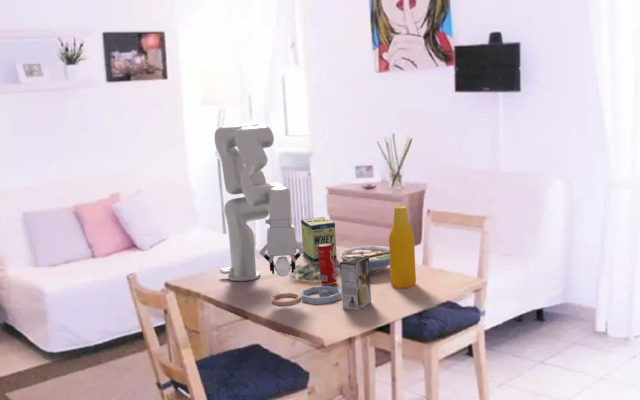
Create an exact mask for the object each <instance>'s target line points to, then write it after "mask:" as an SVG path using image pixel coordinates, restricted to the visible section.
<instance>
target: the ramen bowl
mask: <svg viewBox="0 0 640 400" xmlns="http://www.w3.org/2000/svg"><path fill="white" fill-rule="evenodd" d="M339 256H340V258H341V260H342V261H344V260H346V259H348V258H351V257H353V256H357V257H369V270H370V274H374V273H378V272H379V271H381V270H384V269H386V268H387V267H390V252H389V247H388V246H384V245H380V246H379V245H365V246H364V245H363V246H356V247H351V248H347V249H343V250H342V251H341V252H339Z"/></svg>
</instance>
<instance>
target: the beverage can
mask: <svg viewBox="0 0 640 400" xmlns="http://www.w3.org/2000/svg"><path fill="white" fill-rule="evenodd" d="M318 258H319V261H318V265H319V273H320V280H321V281H320V283H321V284H322V285H323V286H330V285H334V284H336V283H337V273H336V266H335V265H336V264H335V259H334V254H333V247H332V244H331V243H323V244H319V245H318Z"/></svg>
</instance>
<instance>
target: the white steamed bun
mask: <svg viewBox="0 0 640 400" xmlns="http://www.w3.org/2000/svg"><path fill="white" fill-rule="evenodd" d="M291 270H292V269H291V261H289V260H288V257H286V256H277V259H276V262H274V271H275V272H276V275H278V276H279V277H288V275H289V273H290V271H291Z"/></svg>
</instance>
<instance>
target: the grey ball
mask: <svg viewBox="0 0 640 400" xmlns="http://www.w3.org/2000/svg"><path fill="white" fill-rule="evenodd" d="M318 293H319V294H318V295H319V296H318V297H329V296H330V292H328V291H327V290H322V291H321V292H318Z"/></svg>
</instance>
